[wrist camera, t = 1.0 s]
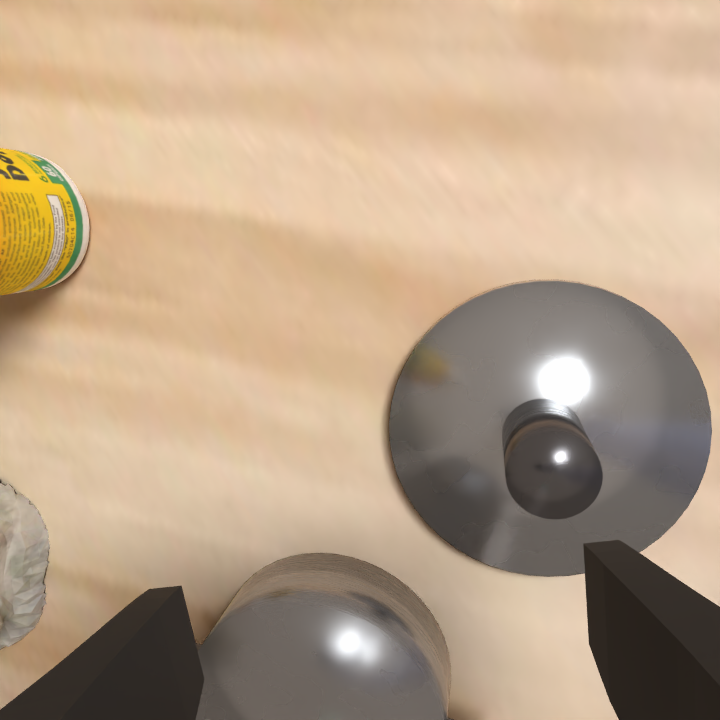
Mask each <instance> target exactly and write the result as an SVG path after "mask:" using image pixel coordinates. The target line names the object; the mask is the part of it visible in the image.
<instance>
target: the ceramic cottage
mask: <svg viewBox="0 0 720 720" xmlns="http://www.w3.org/2000/svg"><path fill="white" fill-rule="evenodd" d="M45 526H46V525H45V524H44V522H43V519H42V517H41V515H39V513H38V509H37V508H35V506H34V505H30V504H29V500H28V499H27V498H26V497H25V496H24V495H23V494H16V493H15V491H14V489H13V488H12V487H11V486H10V485H9V484H7V485H6V486H4V485H3V484H1V483H0V649H2V648H3V647H5V646H8V647H9V646H11V645H13V644H15V643H16V642H18V641H20V640H22V639H23V638H24V637H25V636H26V635H27V634H28V633H29V632H30V631H31V630H33V629H34V628H35V627H36V624H37V623H38V621H39V619H40V616H41V615H42V610H43V609H42V607H43V606H44V605H45V604H46V601H45V599H44V598H45V597H46V594H45V593H44V591H45V588H46V585H44V584H43V580H44V575H45V569H46V567H47V565H48V563H49V562H48V561H46V560H47V557H48V550H49V549H50V545H49V539H48V538H49V536H48V530H47V529H45ZM41 609H42V610H41Z"/></svg>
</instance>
